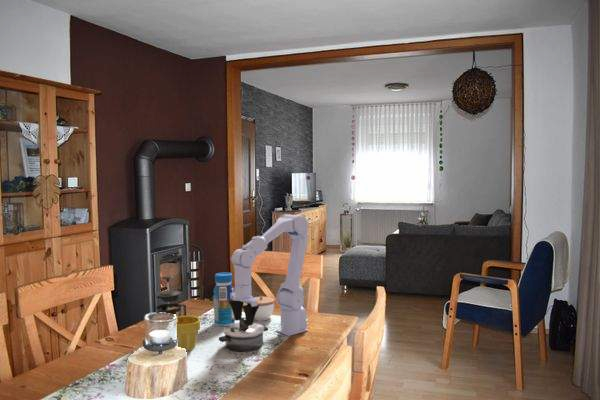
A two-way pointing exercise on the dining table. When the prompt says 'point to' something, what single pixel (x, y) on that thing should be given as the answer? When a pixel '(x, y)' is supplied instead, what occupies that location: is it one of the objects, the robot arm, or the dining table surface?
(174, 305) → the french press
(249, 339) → the cooking pot
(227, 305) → the beverage bottle
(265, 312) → the lidded jar
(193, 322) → the plant pot
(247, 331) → the lid
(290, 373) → the dining table surface
